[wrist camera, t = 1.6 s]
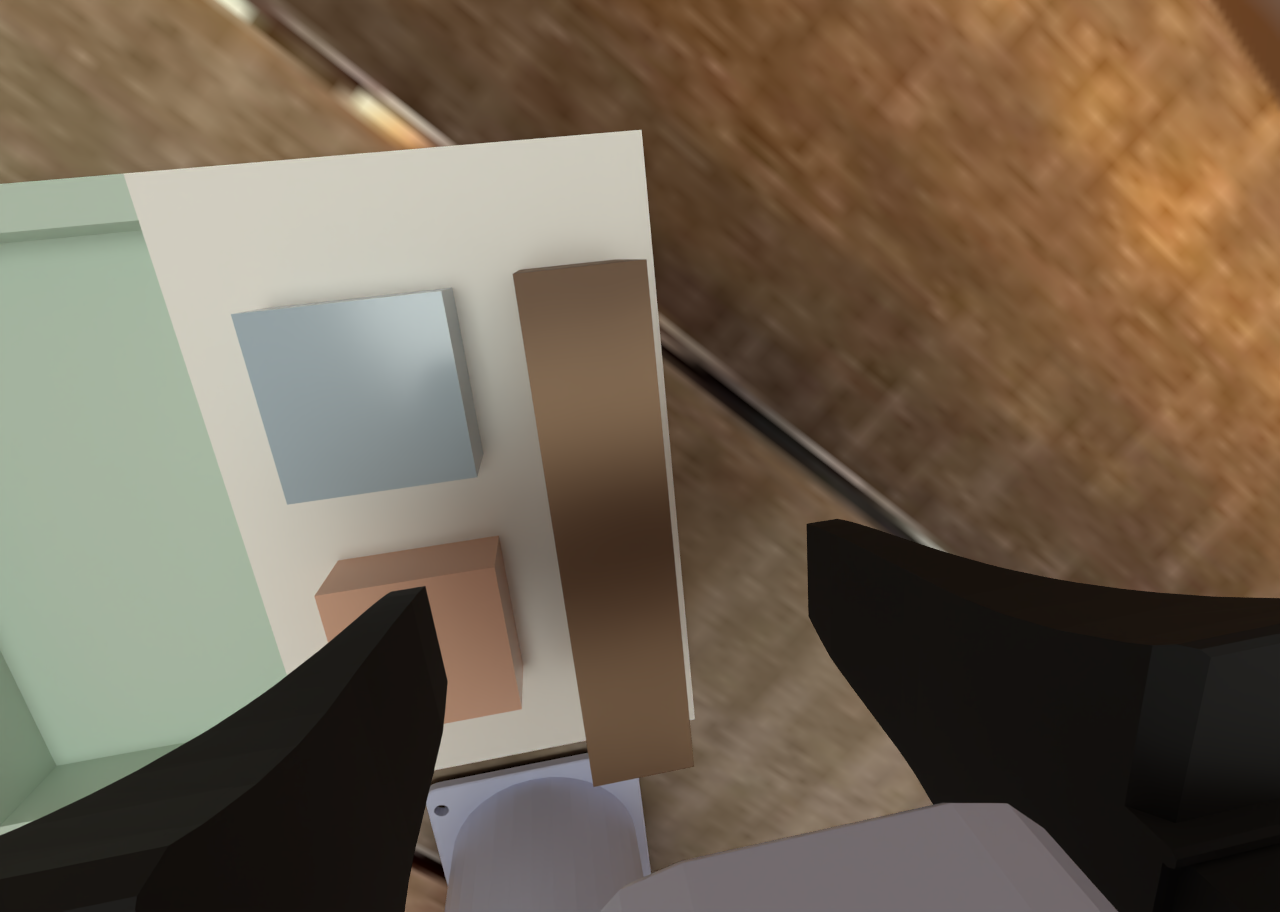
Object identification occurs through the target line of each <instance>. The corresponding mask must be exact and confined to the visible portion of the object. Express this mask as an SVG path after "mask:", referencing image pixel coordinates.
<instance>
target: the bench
mask: <svg viewBox="0 0 1280 912" xmlns="http://www.w3.org/2000/svg"><path fill="white" fill-rule="evenodd" d="M124 177H125V180H126V184H127V187H128V190H129V193H130V196H131V199H132V202H133V205H134V208H135V211H136V214H137V217H138V220H139V223H140V226H141V230H142V233H143V236H144V239H145V242H146V245H147V248H148V251H149V254H150V257H151V260H152V263H153V266H154V269H155V272H156V276H157V279H158V282H159V285H160V288H161V291H162V294H163V297H164V300H165V303H166V306H167V309H168V312H169V315H170V318H171V321H172V325H173V328H174V331H175V334H176V337H177V340H178V343H179V346H180V349H181V352H182V355H183V358H184V361H185V364H186V367H187V371H188V374H189V377H190V380H191V383H192V386H193V389H194V392H195V395H196V398H197V401H198V404H199V407H200V410H201V413H202V417H203V420H204V423H205V426H206V429H207V432H208V435H209V438H210V441H211V444H212V447H213V450H214V453H215V456H216V459H217V463H218V466H219V469H220V472H221V475H222V478H223V481H224V484H225V487H226V490H227V493H228V496H229V499H230V502H231V505H232V509H233V512H234V515H235V518H236V521H237V524H238V527H239V530H240V533H241V536H242V539H243V542H244V545H245V548H246V551H247V554H248V558H249V561H250V564H251V567H252V570H253V573H254V576H255V579H256V582H257V585H258V588H259V591H260V594H261V597H262V600H263V604H264V607H265V610H266V613H267V616H268V619H269V622H270V625H271V628H272V631H273V634H274V637H275V640H276V643H277V646H278V650H279V653H280V656H281V659H282V662H283V665H284V668H285V671H286V674H287V675H288V674H290V673H291V672H292V671H293V670H295V669H296V668H297V667H298V666H300V665H301V664H302V663H304V662H305V661H306V660H307V659H309V658H310V657H311V656H313V655H314V654H315V653H316V652H318V651H319V650H320V649H321V648H323V647H324V646H325V645H326V644H327V643H328V641H327V637H326V634H325V631H324V627H323V624H322V621H321V617H320V614H319V610H318V607H317V604H316V600H315V597H314V596H315V594H316V593H317V591H318V590H319V588H320V587H321V585H322V584H323V582H324V581H325V579H326V578H327V576H328V575H329V573H330V572H331V570H332V569H333V567H334V566H335V564H336V563H337V561H338V560H344V559H351V558H357V557H364V556H370V555H377V554H383V553H389V552H396V551H402V550H409V549H415V548H422V547H428V546H434V545H441V544H447V543H454V542H460V541H467V540H473V539H479V538H486V537H492V536H499V538H500V544H501V549H502V555H503V560H504V565H505V571H506V576H507V581H508V587H509V592H510V597H511V603H512V608H513V613H514V619H515V624H516V629H517V635H518V640H519V645H520V651H521V656H522V661H523V693H522V709H520V710H515V711H510V712H504V713H499V714H494V715H488V716H483V717H478V718H472V719H467V720H462V721H456V722H451V723H446V724H444V727H443V734H442V738H441V743H440V747H439V752H438V756H437V760H436V764H435V769H434V770H438V769H443V768H448V767H454V766H459V765H464V764H469V763H474V762H479V761H484V760H489V759H494V758H500V757H505V756H510V755H515V754H520V753H525V752H530V751H535V750H540V749H546V748H551V747H556V746H561V745H566V744H571V743H576V742H581V741H586V737H585V730H584V724H583V718H582V711H581V705H580V699H579V692H578V686H577V680H576V673H575V667H574V661H573V654H572V648H571V642H570V635H569V629H568V623H567V616H566V610H565V604H564V597H563V591H562V585H561V578H560V572H559V565H558V559H557V553H556V546H555V540H554V534H553V527H552V521H551V515H550V508H549V502H548V496H547V489H546V483H545V477H544V470H543V464H542V458H541V451H540V445H539V439H538V432H537V426H536V420H535V413H534V407H533V401H532V394H531V388H530V382H529V375H528V369H527V363H526V356H525V350H524V344H523V337H522V331H521V325H520V318H519V312H518V305H517V299H516V293H515V286H514V280H513V273H515V272H517V271H518V270H522V269H531V268H540V267H550V266H559V265H568V264H577V263H587V262H596V261H605V260H614V259H647V270H648V281H649V291H650V302H651V313H652V323H653V334H654V345H655V355H656V366H657V377H658V387H659V398H660V409H661V419H662V430H663V441H664V451H665V462H666V473H667V483H668V494H669V505H670V515H671V526H672V537H673V547H674V558H675V569H676V579H677V590H678V601H679V611H680V622H681V633H682V643H683V654H684V665H685V675H686V686H687V697H688V707H689V718H690V720H694V719H695V715H694V704H693V693H692V682H691V671H690V660H689V649H688V638H687V627H686V616H685V605H684V594H683V583H682V572H681V561H680V550H679V539H678V528H677V516H676V505H675V494H674V483H673V472H672V461H671V450H670V439H669V428H668V417H667V406H666V395H665V384H664V373H663V362H662V351H661V340H660V329H659V318H658V307H657V296H656V285H655V274H654V263H653V252H652V240H651V229H650V218H649V207H648V196H647V185H646V174H645V163H644V152H643V141H642V130H634V131H622V132H610V133H598V134H586V135H575V136H563V137H551V138H539V139H527V140H515V141H504V142H492V143H480V144H468V145H456V146H445V147H433V148H421V149H409V150H397V151H386V152H374V153H362V154H350V155H338V156H326V157H315V158H303V159H291V160H279V161H267V162H256V163H244V164H232V165H220V166H208V167H197V168H185V169H173V170H161V171H149V172H137V173H126V174H124ZM451 287H452V288H453V293H454V298H455V304H456V309H457V314H458V320H459V325H460V330H461V336H462V341H463V346H464V352H465V357H466V362H467V368H468V373H469V378H470V384H471V389H472V394H473V400H474V405H475V410H476V416H477V421H478V426H479V432H480V437H481V442H482V448H483V453H484V454H483V458H482V462H481V465H480V469H479V473H478V476H477V477H475V478H468V479H461V480H454V481H448V482H441V483H434V484H427V485H420V486H413V487H406V488H399V489H392V490H385V491H378V492H371V493H365V494H358V495H351V496H344V497H337V498H330V499H323V500H316V501H309V502H302V503H295V504H288V505H287V502H286V499H285V496H284V492H283V489H282V486H281V482H280V479H279V476H278V472H277V469H276V465H275V462H274V459H273V455H272V452H271V449H270V445H269V442H268V438H267V435H266V432H265V428H264V425H263V422H262V418H261V415H260V411H259V408H258V405H257V401H256V398H255V395H254V391H253V388H252V384H251V381H250V378H249V374H248V371H247V368H246V364H245V361H244V357H243V354H242V351H241V347H240V344H239V341H238V337H237V334H236V331H235V327H234V324H233V320H232V317H231V314H235V313H240V312H246V311H252V310H257V309H263V308H269V307H278V306H287V305H296V304H305V303H314V302H324V301H333V300H342V299H351V298H360V297H369V296H378V295H387V294H396V293H405V292H414V291H424V290H433V289H442V288H451Z"/></svg>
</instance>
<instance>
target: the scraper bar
mask: <svg viewBox="0 0 1280 912" xmlns="http://www.w3.org/2000/svg"><path fill="white" fill-rule="evenodd" d="M513 280H514V286H515V293H516V299H517V305H518V312H519V318H520V325H521V331H522V337H523V344H524V350H525V356H526V363H527V369H528V375H529V382H530V388H531V394H532V401H533V407H534V413H535V420H536V426H537V432H538V439H539V445H540V451H541V458H542V464H543V470H544V477H545V483H546V489H547V496H548V502H549V508H550V515H551V521H552V527H553V534H554V540H555V546H556V553H557V559H558V565H559V572H560V578H561V585H562V591H563V597H564V604H565V610H566V616H567V623H568V629H569V635H570V642H571V648H572V654H573V661H574V667H575V673H576V680H577V686H578V692H579V699H580V705H581V711H582V718H583V724H584V730H585V737H586V743H587V749H588V756H589V762H590V768H591V775H592V781H593V787H597V786H601V785H606V784H611V783H616V782H621V781H626V780H631V779H636V778H641V777H645V776H650V775H655V774H660V773H665V772H670V771H675V770H680V769H685V768H689V767H694V761H693V750H692V739H691V729H690V718H689V707H688V697H687V686H686V675H685V665H684V654H683V643H682V633H681V622H680V611H679V601H678V590H677V579H676V569H675V558H674V547H673V537H672V526H671V515H670V505H669V494H668V483H667V473H666V462H665V451H664V441H663V430H662V419H661V409H660V398H659V387H658V377H657V366H656V355H655V345H654V334H653V323H652V313H651V302H650V291H649V281H648V270H647V259H614V260H605V261H596V262H587V263H577V264H568V265H559V266H550V267H540V268H531V269H522V270H518V271H517V272H515V273H513Z"/></svg>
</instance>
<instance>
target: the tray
mask: <svg viewBox="0 0 1280 912" xmlns="http://www.w3.org/2000/svg"><path fill="white" fill-rule="evenodd" d="M286 676H287V674H286V671H285V668H284V665H283V662H282V659H281V656H280V653H279V650H278V646H277V643H276V640H275V637H274V634H273V631H272V628H271V625H270V622H269V619H268V616H267V613H266V610H265V607H264V604H263V600H262V597H261V594H260V591H259V588H258V585H257V582H256V579H255V576H254V573H253V570H252V567H251V564H250V561H249V558H248V554H247V551H246V548H245V545H244V542H243V539H242V536H241V533H240V530H239V527H238V524H237V521H236V518H235V515H234V512H233V509H232V505H231V502H230V499H229V496H228V493H227V490H226V487H225V484H224V481H223V478H222V475H221V472H220V469H219V466H218V463H217V459H216V456H215V453H214V450H213V447H212V444H211V441H210V438H209V435H208V432H207V429H206V426H205V423H204V420H203V417H202V413H201V410H200V407H199V404H198V401H197V398H196V395H195V392H194V389H193V386H192V383H191V380H190V377H189V374H188V371H187V367H186V364H185V361H184V358H183V355H182V352H181V349H180V346H179V343H178V340H177V337H176V334H175V331H174V328H173V325H172V321H171V318H170V315H169V312H168V309H167V306H166V303H165V300H164V297H163V294H162V291H161V288H160V285H159V282H158V279H157V276H156V272H155V269H154V266H153V263H152V260H151V257H150V254H149V251H148V248H147V245H146V242H145V239H144V236H143V233H142V230H141V226H140V223H139V220H138V217H137V214H136V211H135V208H134V205H133V202H132V199H131V196H130V193H129V190H128V187H127V184H126V180H125V177H124V174H114V175H102V176H90V177H78V178H67V179H55V180H43V181H31V182H19V183H8V184H0V835H2V834H5V833H7V832H9V831H12V830H14V829H17V828H19V827H21V826H23V825H26V824H28V823H30V822H32V821H34V820H37V819H39V818H41V817H43V816H46V815H48V814H50V813H52V812H54V811H56V810H58V809H60V808H63V807H65V806H67V805H69V804H71V803H73V802H75V801H77V800H79V799H81V798H84V797H86V796H88V795H90V794H92V793H94V792H96V791H98V790H100V789H102V788H104V787H106V786H108V785H110V784H112V783H114V782H116V781H118V780H120V779H122V778H124V777H126V776H127V775H129V774H131V773H133V772H135V771H137V770H139V769H141V768H142V767H144V766H146V765H148V764H149V763H151V762H153V761H155V760H156V759H158V758H160V757H162V756H163V755H165V754H167V753H169V752H170V751H172V750H174V749H176V748H178V747H179V746H181V745H183V744H185V743H186V742H188V741H190V740H192V739H193V738H195V737H197V736H199V735H200V734H202V733H204V732H205V731H207V730H209V729H210V728H212V727H213V726H215V725H217V724H218V723H220V722H221V721H223V720H224V719H226V718H227V717H229V716H230V715H232V714H234V713H235V712H237V711H238V710H240V709H241V708H243V707H244V706H246V705H247V704H249V703H250V702H252V701H253V700H254V699H256V698H257V697H259V696H260V695H262V694H263V693H264V692H266V691H267V690H269V689H270V688H271V687H273V686H274V685H275V684H277V683H278V682H279V681H281V680H282V679H283V678H284V677H286Z"/></svg>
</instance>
